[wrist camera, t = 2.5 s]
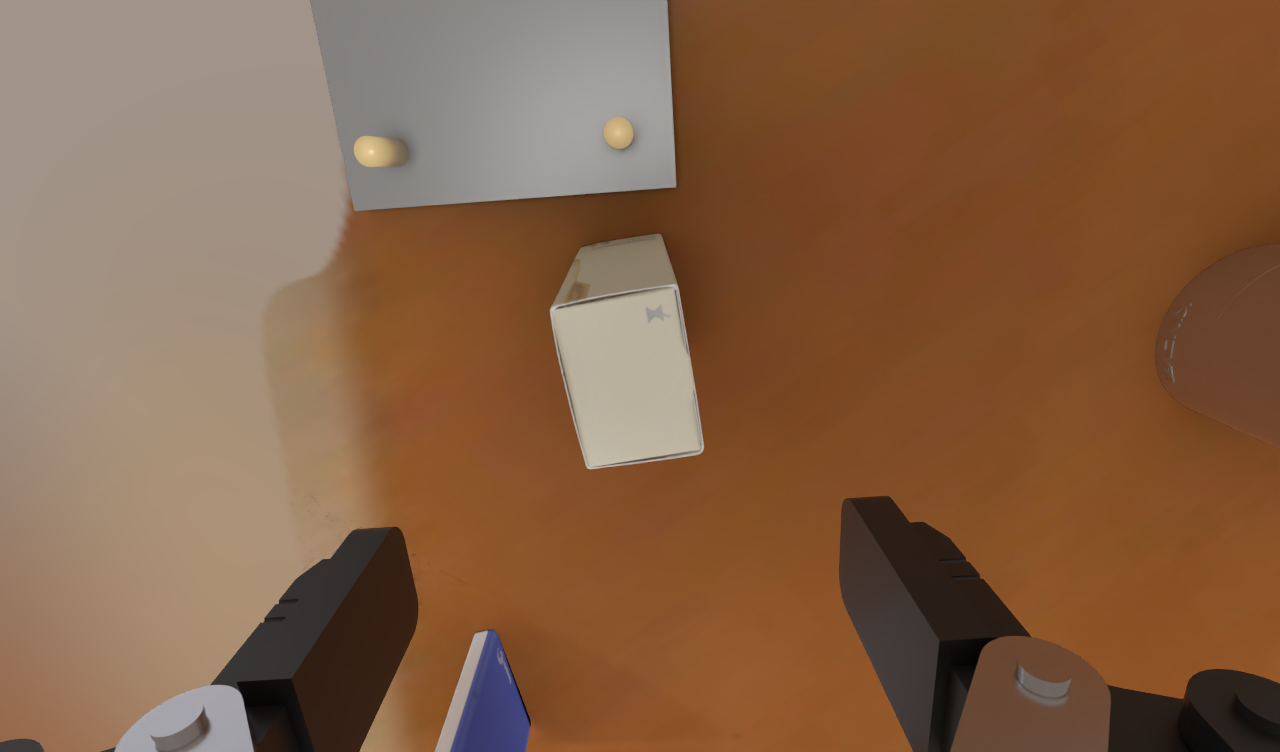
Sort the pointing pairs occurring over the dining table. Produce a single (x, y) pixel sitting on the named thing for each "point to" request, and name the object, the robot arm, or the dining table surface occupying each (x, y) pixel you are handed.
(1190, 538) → the dining table surface
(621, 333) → the skincare box
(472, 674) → the hard drive
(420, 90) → the standoff plate
